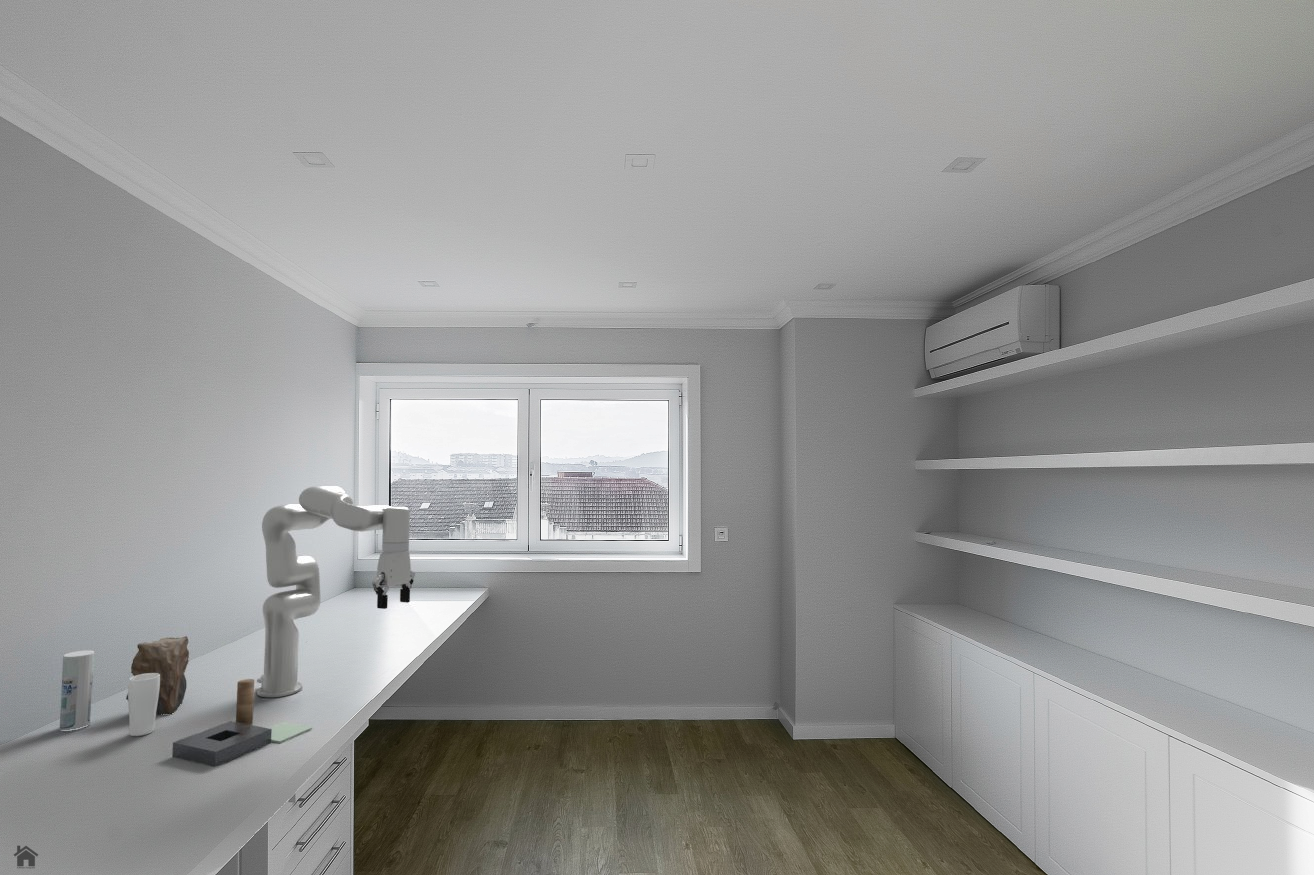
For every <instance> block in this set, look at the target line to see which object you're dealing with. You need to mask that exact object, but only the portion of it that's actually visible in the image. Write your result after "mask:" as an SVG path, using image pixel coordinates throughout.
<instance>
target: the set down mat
mask: <svg viewBox="0 0 1314 875" xmlns="http://www.w3.org/2000/svg"><path fill="white" fill-rule="evenodd" d="M267 728H269V729H272V734H271V743H275V744H282V743H284V742H287V741H288V739H289V740H290V739H293V738H295V736H296V737H298V736H300V735H303V734H304V732H305V733H307V732H309V731H311V730H310V729H312V730H313V727H311V726H306V725H300V724H296V723H290V722H284V721H281V722H279V723H276V724H274V725H271V726H269V727H267ZM308 730H309V731H308ZM306 731H307V732H306ZM302 733H303V734H302ZM297 735H298V736H297ZM286 740H287V741H286Z"/></svg>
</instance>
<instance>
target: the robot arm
mask: <svg viewBox="0 0 1314 875" xmlns="http://www.w3.org/2000/svg"><path fill="white" fill-rule="evenodd" d="M410 518H411V513H410V509H409V508H408V506H390V505H384V504H382V505H381V504H380V505H364V506H363V505H362V506H360V505H355V504H354V500H353V499H352V497H351V496H350V495H348V494H346V491H344V489H343V488H341V487H339V486H336V485H319V486H318V485H317V486H309V487H307V488H305V489H303V491H301V493H300V495H299V497H298V503H291V504H281V505H277V506H274V507H272V508H269V510H267V511H266V512H265V514H264V516H263V518H262V523H261V532H262V535H263V539H264V543H265V559H266V560H265V563H266V579H267V580H266V581H267V583H268V585H269V586H270V587H272V588H275V589H279V588H280V589H282V588H288V587H295V588H296V589H291V590H284V591H280V592H277V593H274V594H272V595H270V596H268V597H267V598H266V599H265V600H264V602H263V605H262V616H263V620H264V633H265V634H264V657H263V658H264V663H263V674H262V675H261V676H260V678H259V677H258V678H257V679H256V683H258V684H260V685H261V686H260V688H258V689H257V692H256V693H257V696H259V697H262V698H278V697H280V698H281V697H285V696H290V695H293V694H296V693H299V692H300V691H302V689H303V683H301V682H299V681H298V670H299V651H300V650H299V648H300V647H299V646H300V645H299V644H300V643H299V642H300V632H299V630H298V627H297V626H296V624H295V623H294V620H297V619H302V618H306V617H310V616H312V615H314V614H316V613H317V612H318V610H319V608H320V607H321V582H320V581H321V579H320V578H321V576H320V568H319V565H318V563H317V561H316V559H315V558H313V556H310V555H307V554H304V555H297V549H296V548H297V547H296V541H295V540H294V538H293V536H292V535H291V533H289V532H290V531H301V530H302V531H303V530H311V529H316V528H319V527H321V526H322V525H324V524H325V523H326V522H327V521H329V520H332V521H333V522H334V523H335V525H337V526H338V527H341V528H343V529H346V530H350V531H354V532H362V533H363V532H370V531H371V532H372V531H382V541H381V542H382V543H381V553H380V554H379V557H378V563H377V566H376V567H377V568H376V569H377V570H376V577H375V578H374V579H373V580H372V582H371V585H372V587H373V591H374V592H375V595H376V596H377V598H376V599H377V600H376V608H377V609H381V610H386V609H388V601H389V600H388V598H389V597H388V596H389V595H388V594H387V593H388V591H389V590H390V588H394V587H399V586H400V587H401V588H400V591H399V602H400V603H407V604H408V603H410V602H411V589H412V587H413V586H412V585H413V584H414V580H415V577H416V572H414V571H412V570H411V569H412V568H411V566H412V565H411V554H410V551H409V550H410V521H411V520H410Z"/></svg>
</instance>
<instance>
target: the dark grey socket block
mask: <svg viewBox="0 0 1314 875" xmlns="http://www.w3.org/2000/svg"><path fill="white" fill-rule="evenodd" d="M271 734H272V729H269V728H268V727H264V726H259V725H253V724H252V725H249V724H243V723H238V722H236V721H232V720H230V721H226V722H224V723H221V724H219V725H216V726H213V727H210V728H208V729H205V730H203V731H200V732H197V733H195V734H191V735H190V736H187V737H184V738H181V739H178V740H176V741H173V742H172V753H171V757H172V758H174V759H179V760H184V761H188V762H193V763H196V764H197V763H198V764H201V763H202V765H205V764H206V765H205V766H209V765H210V767H214V768H215V767H218V766H220V764H221V765H223V764H225V763H227V762H229V760H230V761H232V760H234V759H236V757H237V758H238V756H239V757H241V756H244V755H245V753H246V754H249V753H251V752H252V751H255V750H257V748H258V749H260V748H262V747H265V746H267V745H269V744H272V742H271ZM250 751H251V752H250ZM243 754H244V755H243ZM240 755H241V756H240ZM231 759H232V760H231ZM222 763H223V764H222Z"/></svg>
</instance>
